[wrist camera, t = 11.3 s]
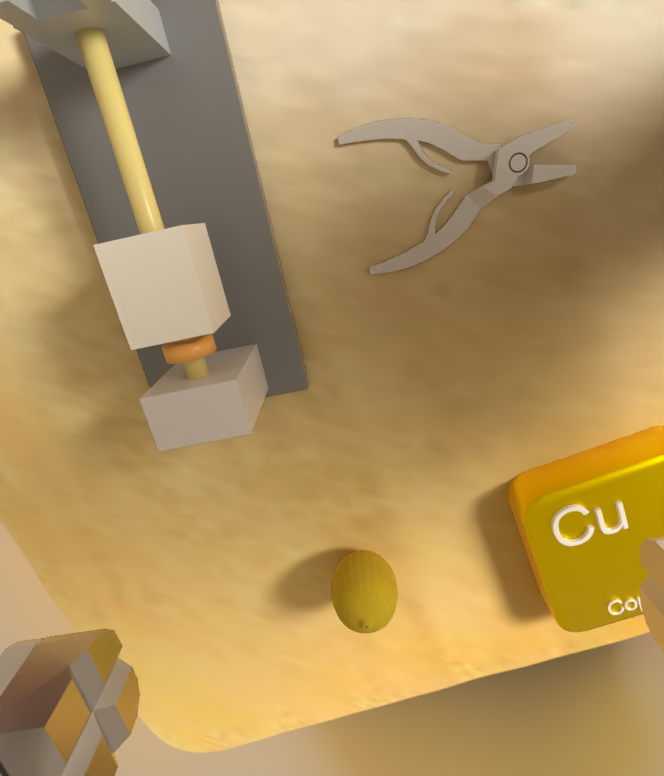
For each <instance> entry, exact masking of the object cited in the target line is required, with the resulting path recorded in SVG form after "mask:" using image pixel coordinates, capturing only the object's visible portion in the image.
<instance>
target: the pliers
mask: <svg viewBox="0 0 664 776" xmlns="http://www.w3.org/2000/svg"><path fill="white" fill-rule="evenodd" d="M573 128H575V127H574V124H573V121H572V118H571V119H568V120H565V121H563V122H560V123H557V124H554V125H551V126H548V127H545V128H543V129H540V130H537V131H534V132H531V133H528V134H526V135H523V136H520V137H518V138H516V139H514V140H512V141H511V142H509V143H507V144H506V145H504V146H503V145H502V144H501V143H498V144H485V143H482V142H479V141H476V140H473V139H470V138H468V137H467V136H465V135H464V134H462V133H461V132H459V131H458V130H456V129H455V128H453V127H451V126H448V125H445V124H443V123H440V122H436V121H431V120H425V119H413V118H396V119H388V120H382V121H377V122H373V123H369V124H365V125H363V126H360V127H358V128H356V129H353V130H351V131H349V132H347V133H345V134H343V135H341V136H339V137H338V142H339V145H343V144H348V143H354V142H361V141H369V140H377V139H404V140H405V141H406V142H407V143H408V144H410V145H411V147H412V148H413V150H414V151H415V153H416V154H417V156H418V157H419V158H420V159H421V160H422V161H423V162H425V163H426V164H427V165H428V166H430V167H432V168H434V169H436V170H438V171H441V172H444V173H447V174H450V171H451V170H450V169H447V168H445V167H442V166H440V165H438V164H436V163H434V162H432V161H431V160H430V159H429V158H428V157H427V156H426V155H425V154H424V153H423V151H422V149H421V146H420V144H419V142H418V141H420V142H425V143H429V144H431V145H433V146H435V147H437V148H439V149H441V150H443V151H445V152H446V153H448V154H450V155H451V156H453V157H455V158H456V159H458V160H460V161H487V163H488V165H489V167H490V169H491V172H492V174H493V175H492V181H490V182H488V183H486V184H484V185H482V186H480V187H479V188H477V189H475V190H474V191H472V192H470V193H469V194H467V195H466V196H465V197H464V198H463V200H462V201H461V203H460V204H459V206H458V207H457V209H456V210H455V212H454V213H453V214H452V216H451V217H450V218H449V220H448V221H447V222H446V224H445V225H444V226H443V227H442V228H440V229H439V230H438V231H437V232H436V233H435V230H436V220H437V217H438V214H439V212H440V210H441V208H442V207H443V205H444V204H445V203H446V201H447V200H448V199H449V198H450V197H451V196H452V195H453V194H454V191H453V189H452V190H450V191H449V193H448V194H447V195H446V196H445V197H444V198H443V199H442V200H441V202H440V203H439V204H438V206H437V207H436V208H435V210H434V213H433V215H432V217H431V219H430V223H429V228H428V233H427V235H426V237H425V240H424V241H423V242H422V243H420V244H418V245H417V246H415V247H413V248H412V249H410V250H408V251H406V252H405V253H403V254H400V255H398V256H396V257H394V258H392V259H389V260H387V261H385V262H382V263H380V264H377V265H374V266H372V267H369V273H370V275H371V274H381V273H388V272H394V271H398V270H402V269H405V268H408V267H411V266H414V265H416V264H419V263H421V262H423V261H425V260H427V259H429V258H431V257H432V256H434V255H436V254H437V253H439V252H441V251H442V250H444V249H445V248H447V247H448V246H449V245H450V244H452V243H453V242H454V241H456V240H457V239H458V238H459V237H460V236H461V235H462V234H463V233H464V232H465V231H466V230H467V229H468V228H469V226H470V225H471V223H472V222H473V220H474V219H475V217H476V216H477V214H478V213H479V211H480V210H481V209H482V208H483V207H485V206H486V205H487V204H488V203H490V202H491V201H492V200H493V199H495V198H496V197H497V196H499V195H501V194H502V193H504V192H506V191H508V190H510V189H511V188H512V186H524V185H529V184H534V183H539V182H544V181H548V180H553V179H557V178H562V177H567V176H571V175H576V171H577V165H533V164H530V157H529V156H530V155H531V154H532V153H533V152H534V151H536V150H537V149H539V148H541V147H542V146H544V145H546V144H547V143H549V142H551V141H553V140H554V139H556V138H558V137H559V136H561V135H563V134H564V133H566V132H568V131H570V130H571V129H573Z"/></svg>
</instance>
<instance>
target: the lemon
mask: <svg viewBox="0 0 664 776" xmlns="http://www.w3.org/2000/svg"><path fill="white" fill-rule="evenodd" d="M331 593H332V601H333V605H334V608H335V610H336V613H337V615H338V617H339V619H340V620H341V621H342V622H343V624H344V625H345V626H347V627H348V628H349V629H351V630H353V631H355V632H359V633H373V632H376V631H378V630H380V629H382V628H383V627H385V626H386V625H387V624H388V622H389V621H390V620H391V618H392V616H393V614H394V612H395V608H396V603H397V584H396V579H395V576H394V573H393V571H392V569H391V567H390V566H389V564H388V563H387V562H386V561H385V560H384V559H383V558H382V557H381V556H379V555H378V554H376V553H374V552H371V551H365V550H361V551H355V552H352V553H350V554H348V555H347V556H345V557H344V558H343V559H342V560H341V561H340V562H339V564H338V565H337V567H336V569H335V571H334V574H333V578H332V583H331Z"/></svg>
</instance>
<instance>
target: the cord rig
mask: <svg viewBox="0 0 664 776" xmlns="http://www.w3.org/2000/svg"><path fill="white" fill-rule="evenodd" d="M0 18H1V19H2V20H4V21H6V22H8V23H9V24H11V25H13V27H14V28H15V29H17V30H19V31H21V32H22V33H24V34H25V37H26V40H27V43H28V46H29V48H30V51H31V54H32V57H33V60H34V62H35V65H36V68H37V71H38V74H39V77H40V79H41V82H42V85H43V88H44V91H45V93H46V96H47V99H48V102H49V105H50V107H51V110H52V113H53V116H54V119H55V122H56V124H57V127H58V130H59V133H60V136H61V138H62V141H63V144H64V147H65V150H66V153H67V155H68V158H69V161H70V164H71V167H72V169H73V172H74V175H75V178H76V181H77V183H78V186H79V189H80V192H81V195H82V198H83V200H84V203H85V206H86V209H87V212H88V214H89V217H90V220H91V223H92V226H93V229H94V231H95V234H96V237H97V240H98V243H99V244H100V243H104V242H109V241H113V240H118V239H122V238H127V237H131V236H136V235H140V234H145V233H149V232H154V231H158V230H162V229H167V228H171V227H176V226H180V225H188V224H198V223H205V225H206V229H207V232H208V236H209V240H210V243H211V247H212V250H213V254H214V257H215V261H216V264H217V268H218V272H219V275H220V279H221V282H222V286H223V289H224V293H225V297H226V300H227V304H228V307H229V311H230V314H231V316H230V317H229V318H228V319H227V320H226V321H225V322H224V323H223V324H222V325H221V326H220V327H219V328H218V329H217V330H216V331H215V332H214V333H212V334H207V335H202V336H197V337H192V338H188V339H183V340H178V341H173V342H168V343H163V344H159V345H154V346H149V347H144V348H139V349H136V350H137V352H138V355H139V358H140V361H141V364H142V366H143V369H144V372H145V375H146V378H147V381H148V383H149V386H150V389H149V390H148V391H147V392H146V393H145V394H144V395H143V396H142V397H141V398H140V399H139V400H140V403H141V406H142V408H143V411H144V414H145V417H146V419H147V422H148V425H149V427H150V430H151V433H152V436H153V438H154V441H155V444H156V447H157V449H158V452H160V451H165V450H170V449H176V448H181V447H186V446H192V445H197V444H202V443H207V442H213V441H218V440H223V439H228V438H234V437H239V436H244V435H249V434H252V431H253V429H254V426H255V423H256V420H257V418H258V415H259V412H260V409H261V407H262V404H263V401H264V398H265V397H267V396H273V395H278V394H283V393H288V392H293V391H298V390H303V389H308V386H309V382H308V378H307V374H306V369H305V365H304V361H303V357H302V352H301V348H300V344H299V340H298V336H297V331H296V327H295V323H294V319H293V315H292V310H291V306H290V302H289V298H288V294H287V289H286V285H285V281H284V277H283V272H282V268H281V264H280V260H279V256H278V251H277V247H276V243H275V239H274V235H273V230H272V226H271V222H270V218H269V214H268V209H267V205H266V201H265V197H264V192H263V188H262V184H261V180H260V176H259V171H258V167H257V163H256V159H255V155H254V150H253V146H252V142H251V138H250V134H249V129H248V125H247V121H246V117H245V112H244V108H243V104H242V100H241V96H240V91H239V87H238V83H237V79H236V75H235V70H234V66H233V62H232V58H231V53H230V49H229V45H228V41H227V37H226V32H225V28H224V24H223V20H222V16H221V11H220V7H219V3H218V0H0Z"/></svg>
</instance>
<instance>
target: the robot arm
mask: <svg viewBox="0 0 664 776" xmlns="http://www.w3.org/2000/svg"><path fill="white" fill-rule="evenodd" d="M640 563H641V564H642V565H643V566H644V568H645V569H646V570H647V571H648V572H649V573H650V574H649V575H648V577H647V578H646V579H645V580H644V582H643V583H642V584H641V586H640V603H641V608H642V611H643V614H644V617H645V620H646V624H647V626H648V628H649V630H650V631H651V633H652V635H653V637H654V639H655V640H656V641H657V643H658V645H659V646H660V647H661V649H662V650H663V651H664V536H662V537H656V538H650V539H644V541H643V543H642V545H641V547H640ZM121 648H122V644H121V643H120V641H119V639H118V637H117V635H116V633H115V631H114V630H109V629H99V630H92V631H85V632H78V633H71V634H64V635H56V636H49V637H46V638H40V639H33V640H25V641H18V642H16V643H14V644H13V645H11V646H9V647H8V648H6V649H5V651H4V652H3V653H2V655H1V656H0V776H115V773H116V770H117V768H118V765H117V761H116V757H115V753H114V752H115V751H116V750H117V749H118V748H119V747H120V745H121V744H122V743H123V742H124V741H125V740H126V739H127V738H128V737H129V736H130V734H131V731H132V729H133V726H134V723H135V720H136V718H137V714H138V705H139V696H140V693H139V686H138V680H137V677H136V675H135V673H134V670H133V668H132V667H131V666H130V665H128V664H126V663H125V662H123V661H122V660H120V659H119V658H118V656H119V654H120V651H121Z"/></svg>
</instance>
